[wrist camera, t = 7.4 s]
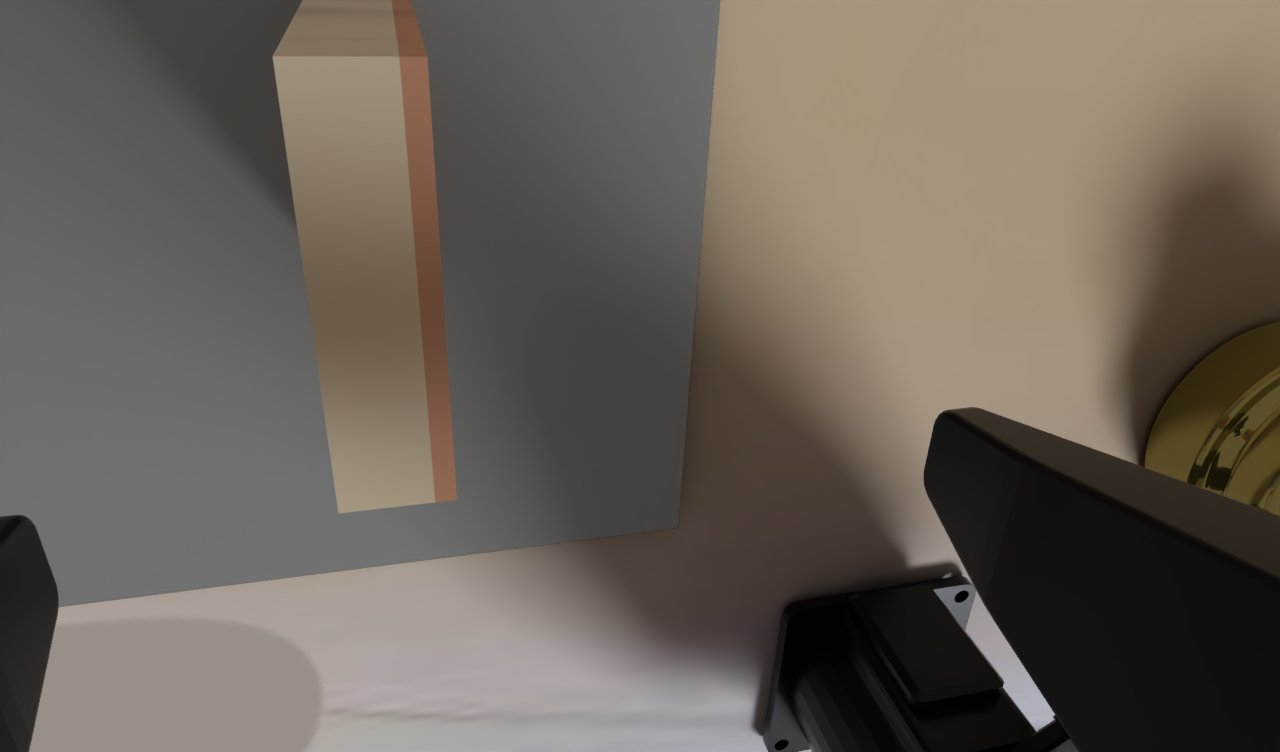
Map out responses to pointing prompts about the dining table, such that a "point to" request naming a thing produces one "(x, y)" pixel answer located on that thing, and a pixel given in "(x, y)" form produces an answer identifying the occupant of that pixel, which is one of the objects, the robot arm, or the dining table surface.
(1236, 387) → the olive tall rounded piece
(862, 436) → the dining table surface
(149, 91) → the mat
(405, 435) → the tile
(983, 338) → the dining table surface
